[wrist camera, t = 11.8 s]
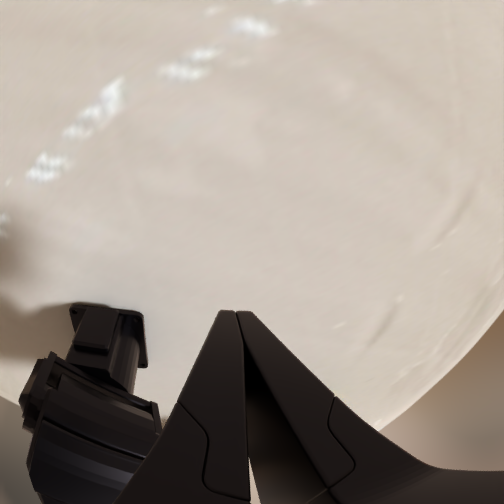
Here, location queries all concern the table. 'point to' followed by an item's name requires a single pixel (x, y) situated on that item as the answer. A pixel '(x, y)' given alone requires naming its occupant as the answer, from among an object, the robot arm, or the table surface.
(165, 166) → the table surface
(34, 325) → the table surface
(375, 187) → the table surface
